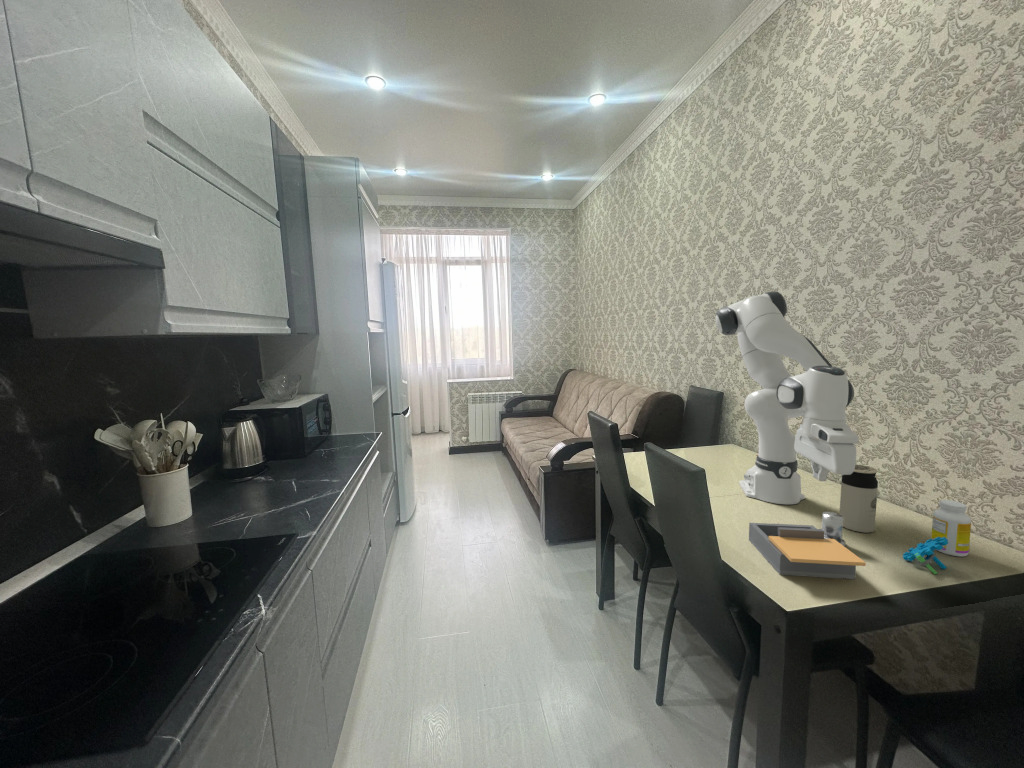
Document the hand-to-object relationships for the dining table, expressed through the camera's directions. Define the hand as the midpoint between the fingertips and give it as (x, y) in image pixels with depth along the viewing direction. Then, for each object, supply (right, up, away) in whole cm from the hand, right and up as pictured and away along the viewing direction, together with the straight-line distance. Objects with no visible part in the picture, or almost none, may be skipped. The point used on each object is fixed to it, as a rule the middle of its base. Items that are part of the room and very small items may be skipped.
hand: (819, 479), depth 106 cm
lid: (-10, -14, -11) cm, 20 cm away
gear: (+19, -19, -8) cm, 28 cm away
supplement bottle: (+32, -18, -2) cm, 37 cm away
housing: (-9, -19, -4) cm, 21 cm away
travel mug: (+20, -17, +12) cm, 29 cm away
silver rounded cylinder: (+5, -18, +3) cm, 19 cm away
